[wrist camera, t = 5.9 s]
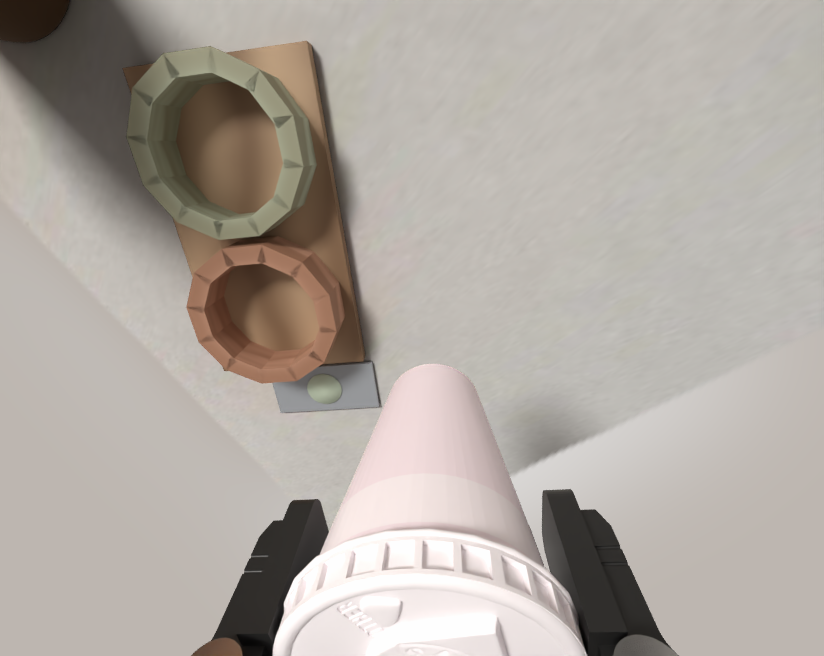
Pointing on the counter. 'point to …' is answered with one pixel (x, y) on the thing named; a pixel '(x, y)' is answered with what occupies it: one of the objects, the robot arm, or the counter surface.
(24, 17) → the olive oil
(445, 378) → the smoothie
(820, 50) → the counter surface
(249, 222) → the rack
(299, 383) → the card
